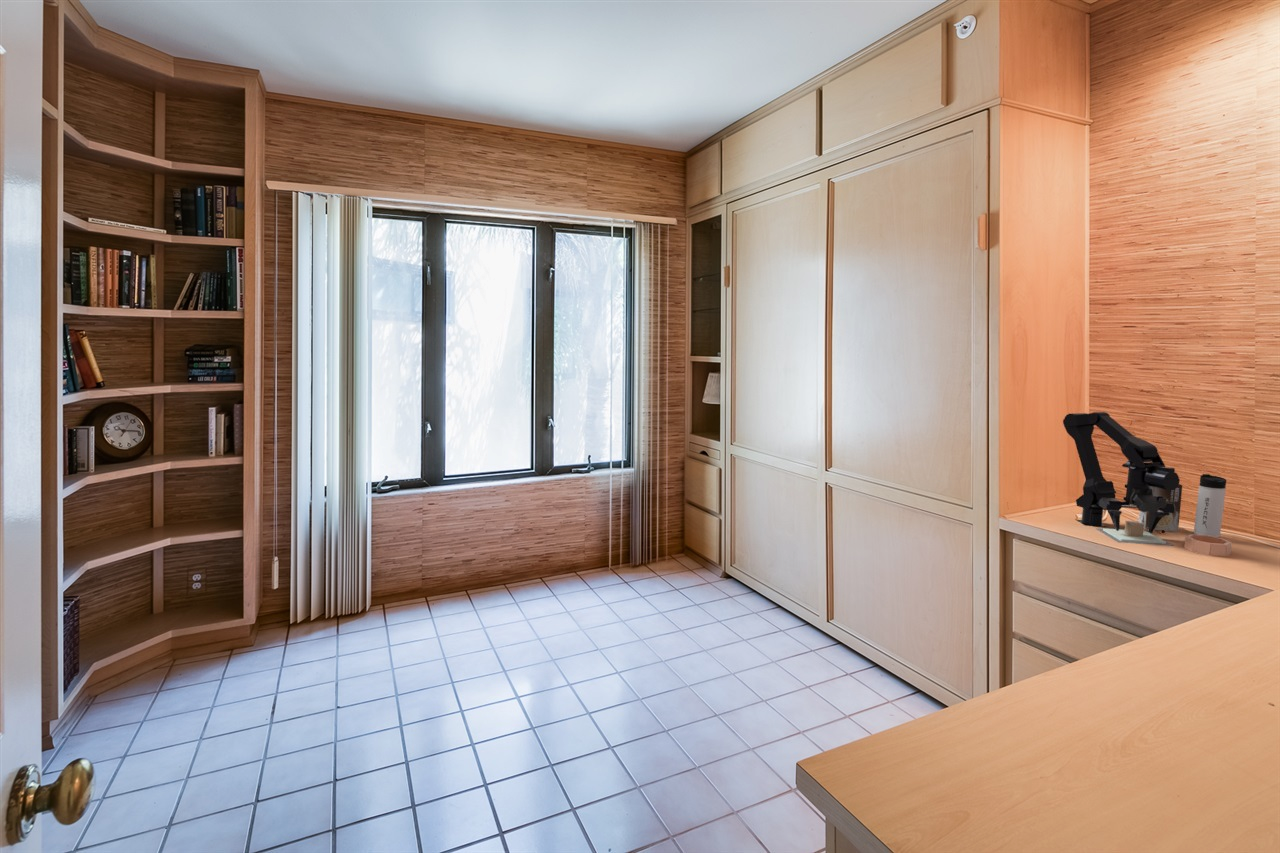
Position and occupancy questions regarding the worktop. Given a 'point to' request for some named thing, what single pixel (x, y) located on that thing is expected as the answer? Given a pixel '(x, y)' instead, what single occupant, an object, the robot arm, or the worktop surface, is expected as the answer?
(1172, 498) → the coffee box
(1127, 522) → the lid
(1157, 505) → the robot arm
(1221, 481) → the travel mug
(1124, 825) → the worktop surface
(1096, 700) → the worktop surface
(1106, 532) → the mat
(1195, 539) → the bowl
